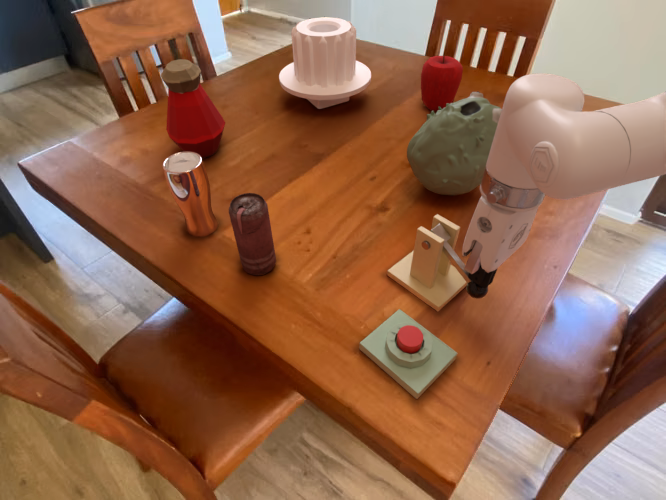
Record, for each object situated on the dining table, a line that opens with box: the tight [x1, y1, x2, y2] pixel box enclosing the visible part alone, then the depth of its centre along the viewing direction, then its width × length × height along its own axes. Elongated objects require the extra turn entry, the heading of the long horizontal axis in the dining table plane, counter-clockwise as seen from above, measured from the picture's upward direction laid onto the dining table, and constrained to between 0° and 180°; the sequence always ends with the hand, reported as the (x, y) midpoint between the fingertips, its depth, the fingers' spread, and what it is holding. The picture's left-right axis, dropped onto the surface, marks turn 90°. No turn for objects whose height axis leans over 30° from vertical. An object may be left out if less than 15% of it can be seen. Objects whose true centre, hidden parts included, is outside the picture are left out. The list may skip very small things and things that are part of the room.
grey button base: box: [358, 308, 458, 400], centre depth 63 cm, size 11×9×4 cm
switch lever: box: [429, 224, 489, 300], centre depth 67 cm, size 13×3×3 cm, turn 43°
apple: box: [420, 55, 464, 112], centre depth 113 cm, size 11×10×14 cm
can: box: [228, 192, 277, 276], centre depth 72 cm, size 6×6×14 cm
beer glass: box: [162, 151, 219, 238], centre depth 79 cm, size 7×7×15 cm
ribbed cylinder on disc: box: [278, 16, 372, 110], centre depth 115 cm, size 25×25×19 cm
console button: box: [397, 325, 423, 353], centre depth 61 cm, size 4×4×2 cm
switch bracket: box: [386, 213, 467, 312], centre depth 70 cm, size 11×9×12 cm
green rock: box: [406, 91, 502, 196], centre depth 85 cm, size 16×19×20 cm
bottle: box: [160, 59, 226, 160], centre depth 98 cm, size 16×14×20 cm
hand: (479, 280), depth 65 cm, fingers closed
